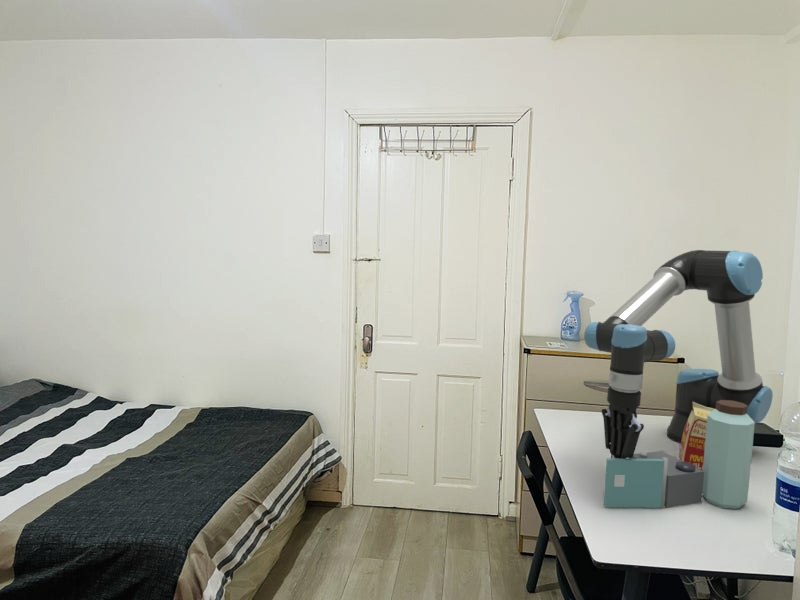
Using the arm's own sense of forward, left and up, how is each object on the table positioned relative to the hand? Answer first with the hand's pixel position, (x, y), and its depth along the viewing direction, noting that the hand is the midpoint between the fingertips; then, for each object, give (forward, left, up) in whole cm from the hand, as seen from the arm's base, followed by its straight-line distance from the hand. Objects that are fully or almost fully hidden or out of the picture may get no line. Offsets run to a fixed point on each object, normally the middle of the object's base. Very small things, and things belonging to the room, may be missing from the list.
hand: (616, 481), depth 139 cm
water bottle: (-26, +8, -5) cm, 28 cm away
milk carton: (-34, -8, -5) cm, 35 cm away
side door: (-2, +5, -4) cm, 7 cm away
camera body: (-15, 0, -5) cm, 16 cm away
